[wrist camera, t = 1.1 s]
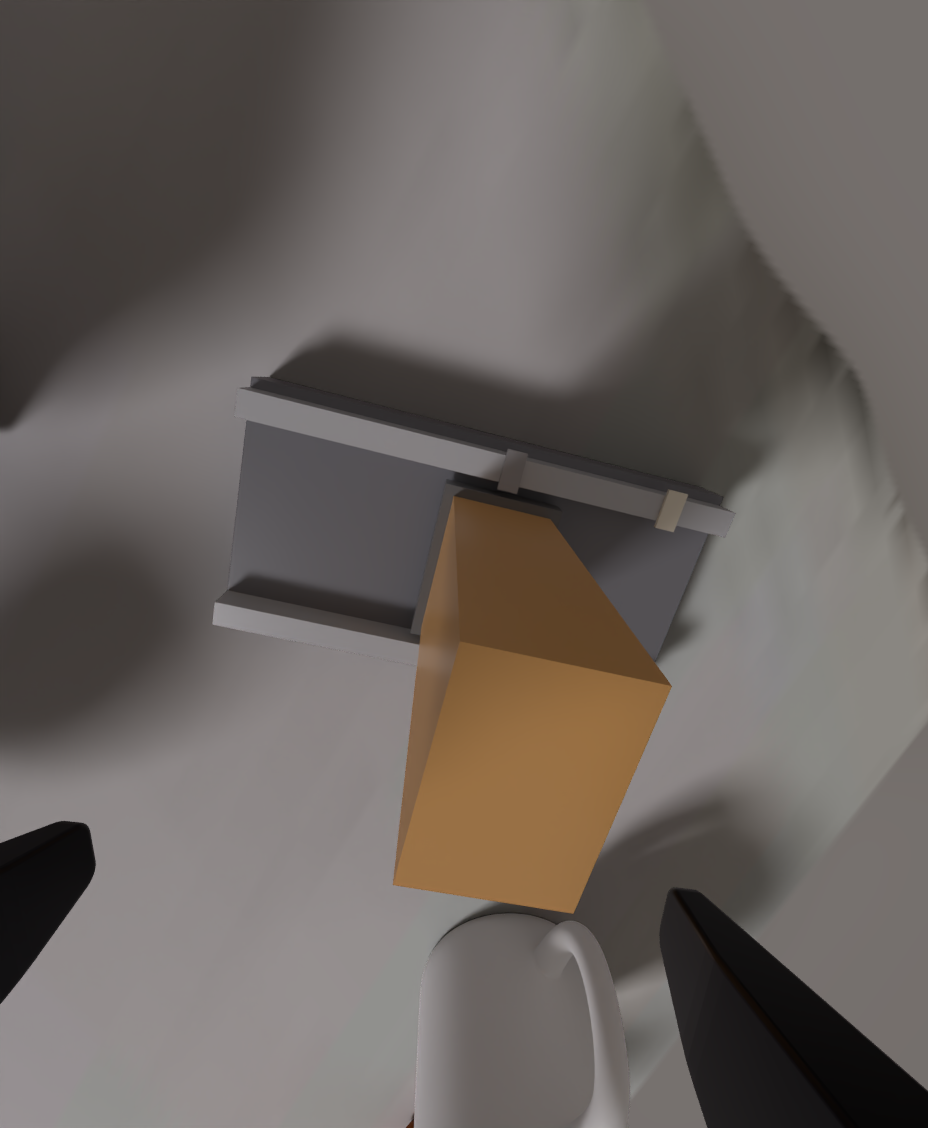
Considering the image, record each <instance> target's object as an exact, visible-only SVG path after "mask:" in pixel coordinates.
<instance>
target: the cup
mask: <svg viewBox="0 0 928 1128" xmlns="http://www.w3.org/2000/svg"><path fill="white" fill-rule="evenodd" d="M629 1106H630V1078H629V1066H628V1057H627V1049H626V1042H625V1035H624V1029H623V1024H622V1018H621V1013H620V1009H619V1004H618V1000H617V995H616V991H615V987H614V983H613V980H612V976H611V973H610V970H609V967H608V964H607V961H606V958H605V956H604V953H603V951H602V949H601V947H600V945H599V943H598V941H597V939H596V938H595V936H594V935H593V934H592V933H591V931H590V930H589V929H588V928H587V927H586V926H584V925H583V924H581V923H579V922H577V921H564V922H561V923H559V924H558V925H556V924H554V923H552V922H550V921H548V920H545V919H542V918H539V917H536V916H532V915H526V914H517V913H503V914H493V915H488V916H483V917H480V918H476V919H473V920H471V921H468V922H466V923H464V924H462V925H460V926H458V927H456V928H455V929H453V930H452V931H450V932H449V933H448V934H447V935H446V936H444V937H443V938H442V939H441V940H440V941H439V943H438V944H437V945H436V947H435V948H434V949H433V951H432V953H431V954H430V956H429V958H428V960H427V963H426V965H425V968H424V971H423V977H422V982H421V991H420V1006H419V1027H418V1049H417V1070H416V1092H415V1113H414V1128H629V1125H628V1117H629Z"/></svg>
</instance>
